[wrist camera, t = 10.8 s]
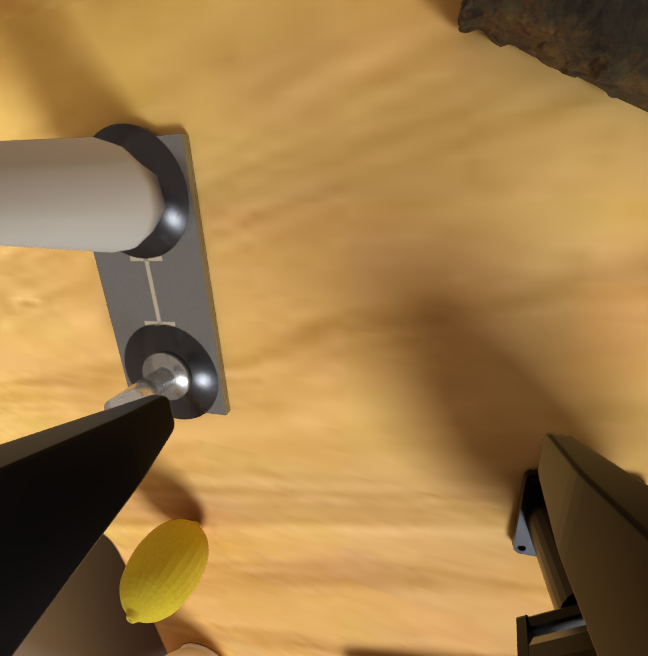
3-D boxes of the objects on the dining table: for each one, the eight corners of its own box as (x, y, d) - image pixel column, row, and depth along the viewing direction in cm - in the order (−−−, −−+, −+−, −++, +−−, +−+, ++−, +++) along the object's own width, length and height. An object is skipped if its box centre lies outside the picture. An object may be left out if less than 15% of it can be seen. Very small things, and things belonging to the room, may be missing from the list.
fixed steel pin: (196, 397, 26) (148, 441, 21) (153, 393, 26) (98, 434, 22) (187, 352, 24) (134, 387, 20) (143, 349, 25) (83, 382, 21)
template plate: (231, 419, 26) (227, 424, 26) (140, 409, 28) (135, 413, 28) (185, 119, 20) (178, 116, 19) (71, 132, 22) (62, 130, 21)
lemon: (220, 555, 32) (162, 660, 25) (166, 530, 33) (94, 625, 25) (230, 513, 30) (169, 615, 22) (172, 488, 30) (95, 579, 23)
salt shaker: (94, 230, 23) (-255, 265, 11) (94, 133, 21) (-343, 44, 9) (174, 258, 22) (-108, 327, 10) (183, 160, 20) (-164, 103, 8)
